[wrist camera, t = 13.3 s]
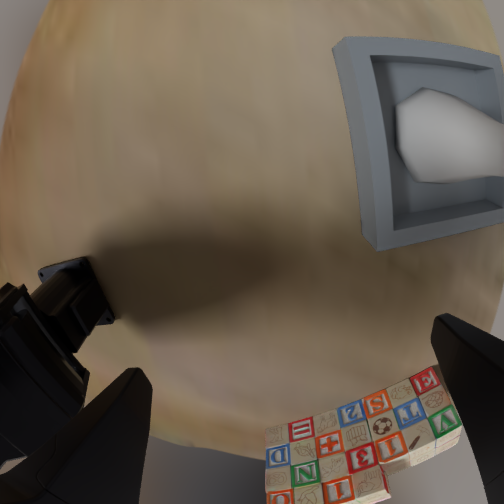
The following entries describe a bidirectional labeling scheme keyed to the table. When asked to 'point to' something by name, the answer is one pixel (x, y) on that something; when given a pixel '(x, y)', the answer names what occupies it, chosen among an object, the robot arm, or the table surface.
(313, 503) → the stack of blocks
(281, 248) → the table surface
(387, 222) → the tray
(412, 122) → the light grey vase
